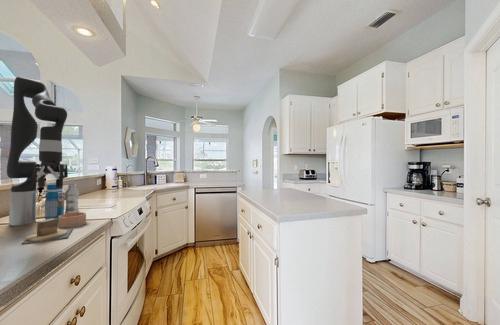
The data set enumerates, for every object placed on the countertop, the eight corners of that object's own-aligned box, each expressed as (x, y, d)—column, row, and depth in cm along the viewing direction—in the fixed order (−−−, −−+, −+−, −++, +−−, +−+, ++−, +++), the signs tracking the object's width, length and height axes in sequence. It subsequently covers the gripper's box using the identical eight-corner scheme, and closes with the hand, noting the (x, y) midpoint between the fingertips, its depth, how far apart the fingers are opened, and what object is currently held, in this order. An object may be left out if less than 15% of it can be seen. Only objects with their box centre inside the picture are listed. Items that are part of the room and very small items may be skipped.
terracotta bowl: (52, 226, 109) (52, 216, 109) (72, 221, 120) (72, 212, 120) (72, 227, 108) (72, 217, 108) (90, 221, 119) (91, 212, 119)
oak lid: (16, 240, 89) (16, 223, 89) (48, 230, 101) (49, 216, 101) (45, 241, 87) (45, 225, 87) (74, 231, 100) (74, 217, 100)
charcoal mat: (21, 244, 86) (21, 243, 86) (32, 234, 98) (32, 233, 98) (67, 238, 93) (67, 237, 93) (72, 229, 105) (72, 228, 105)
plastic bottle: (73, 219, 122) (73, 184, 122) (61, 219, 122) (61, 184, 122) (82, 217, 129) (82, 183, 129) (70, 216, 129) (71, 183, 129)
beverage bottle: (44, 221, 119) (45, 185, 119) (44, 218, 124) (44, 183, 124) (65, 218, 125) (65, 184, 125) (63, 216, 130) (63, 183, 130)
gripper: (27, 150, 92) (26, 188, 92) (57, 150, 91) (56, 188, 91) (45, 151, 100) (44, 186, 100) (73, 151, 98) (72, 186, 98)
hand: (50, 187), depth 95 cm, fingers open, 8 cm apart
